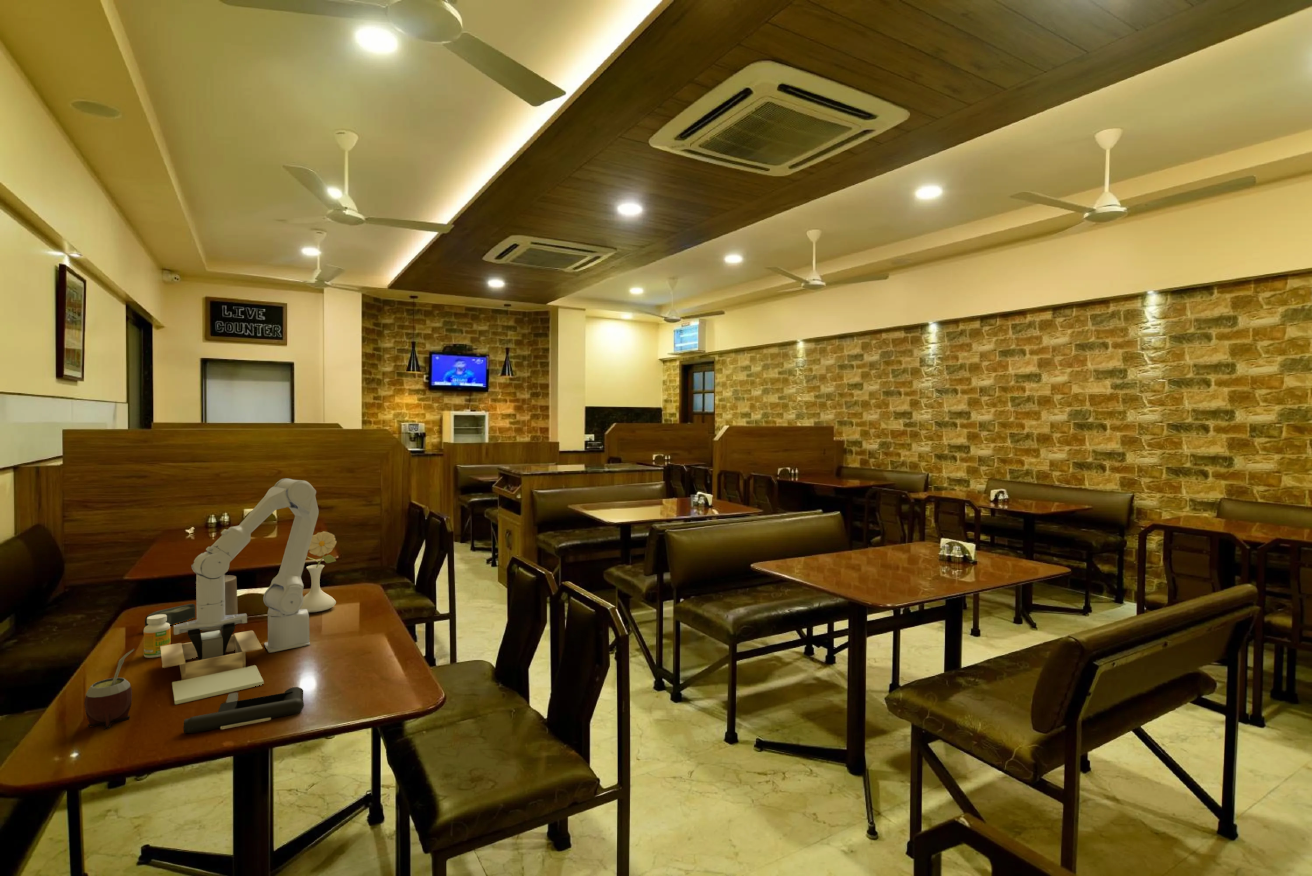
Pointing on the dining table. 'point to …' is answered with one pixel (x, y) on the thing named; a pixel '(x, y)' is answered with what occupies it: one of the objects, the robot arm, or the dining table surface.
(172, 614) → the dark grey stapler
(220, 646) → the block
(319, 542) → the flower in vase
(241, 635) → the carton
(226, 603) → the pillar candle
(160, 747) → the dining table surface
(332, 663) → the dining table surface
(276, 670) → the dining table surface
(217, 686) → the sage board
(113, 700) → the mate gourd
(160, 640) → the supplement bottle
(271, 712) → the door handle
